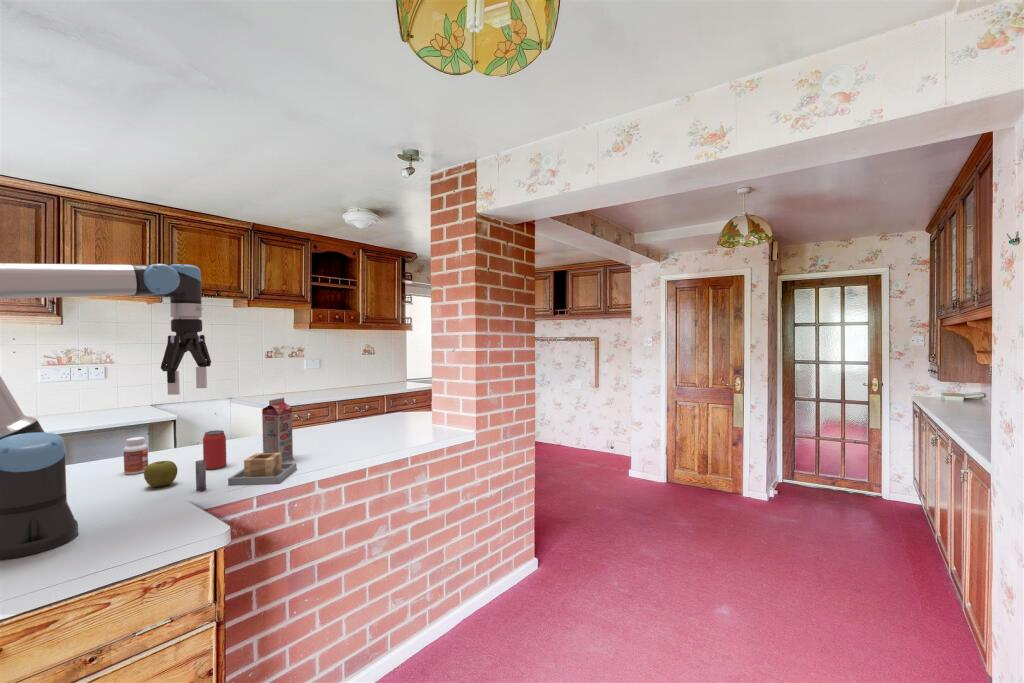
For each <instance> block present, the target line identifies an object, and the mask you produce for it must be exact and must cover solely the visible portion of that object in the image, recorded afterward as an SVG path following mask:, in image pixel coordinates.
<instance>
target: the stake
mask: <svg viewBox="0 0 1024 683" xmlns="http://www.w3.org/2000/svg"><path fill="white" fill-rule="evenodd" d="M206 470H207V469H206V465H205V460H203V459H200V460H196V461H195V491H196V492H197V491H200V492H204V491H206V490H207V476H206V475H207V474H206Z"/></svg>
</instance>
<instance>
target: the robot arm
mask: <svg viewBox="0 0 1024 683" xmlns="http://www.w3.org/2000/svg"><path fill="white" fill-rule="evenodd" d="M202 283H203V281H202V272H201V269H200V268H199V267H198V266H196V265H193V264H180V263H179V264H177V263H176V264H170V265H168V264H164V263H153V264H115V263H114V264H110V263H108V264H100V263H99V264H98V263H94V264H93V263H29V262H28V263H26V262H25V263H21V262H19V263H18V262H17V263H16V262H10V263H9V262H8V263H7V262H0V300H15V299H16V300H18V299H42V298H43V299H44V298H46V299H47V298H48V299H49V298H76V297H77V298H79V297H84V298H85V297H111V296H112V297H113V296H114V297H115V296H116V297H117V296H125V297H126V296H127V297H132V298H134V297H148V298H151V297H152V298H153V297H154V298H155V297H156V298H169V299H170V301H169V302H170V305H169V306H170V307H169V308H170V317H171V318H172V319H171V320H170V331H171V332H172V333H175V335H171V334H170V335H168V336H167V344H166V348H165V350H164V353H163V358H162V361H161V364H160V370H162V372H166V379H167V380H166V383H167V395H168V396H170V395H171V396H173V395H174V396H175V395H180V393H181V392H180V390H181V389H180V371H179V370H178V368H179V367H180V364H181V362H182V360H183V357H184V355H185V353H188V352H189V353H191V354H190V355H191V356H192V357H193V359H194V361H195V363H196V365H197V366H196V367H195V380H196V382H195V387H196V389H207V388H208V380H207V379H208V377H207V376H208V374H207V373H208V372H207V371H208V370H207V367H211V366H212V365H211V364H212V360H211V356H210V354H209V351H208V346H207V343H206V337H205V334H198V333H201V332H203V320H202V319H200V318H202V316H203V312H202V311H203V310H204V309H203V307H202ZM66 453H67V446H66V445H65V440H64V437H63V436H61V435H59V434H57V433H54V432H49V433H48V432H45V430H44V428H43V427H42V426H41V424H40V421H38V419H37V418H36V417H32V416H27V415H25V414H24V413H23V411H22V409H21V408H20V406H19V405H18V403H17V401H16V399H15V397H14V396H13V395H12V393H11V391H10V390H9V388H8V386H7V384H6V382H5V381H4V379H3V378H2V376H1V375H0V560H8V559H9V560H10V559H15V558H20V557H25V556H30V555H33V554H39V553H41V552H45V551H47V550H52V549H53V548H57V547H59V546H61V545H63V544H66V543H68V542H69V541H71V540H73V539H75V538H76V537H77V535H78V534H79V524H78V521H77V520H76V518H75V516H74V514H73V512H72V510H71V507H70V506H69V503H68V499H67V498H68V497H67V473H66V472H67V471H66Z"/></svg>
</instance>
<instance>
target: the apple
mask: <svg viewBox="0 0 1024 683" xmlns="http://www.w3.org/2000/svg"><path fill="white" fill-rule="evenodd" d="M177 475H178V466H177V464H176V463H175V462H173V461H171V460H158V461H155V462H154V461H153V462H152V463H150V464H149V463H148V466H147V467H146V469H145V471H144V472H143V477H144V480H145V482H146V483H147V485H148V486H150V487H151V488H157V487H163V486H169V485H171V484H172V483H174V481H175V480H176V477H177Z"/></svg>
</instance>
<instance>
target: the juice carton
mask: <svg viewBox="0 0 1024 683" xmlns="http://www.w3.org/2000/svg"><path fill="white" fill-rule="evenodd" d="M268 403H269V404H268V405H267V406H266V407H264V408H262V409H261V413H262V414H261V418H262V419H261V421H262V453H282V463H286V462H288V461H291V460H293V457H294V451H293V449H294V448H293V446H294V445H293V408H292V406H291V405H289V404H288V403H286V402H285V397H280V398H275V399H269V400H268Z"/></svg>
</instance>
